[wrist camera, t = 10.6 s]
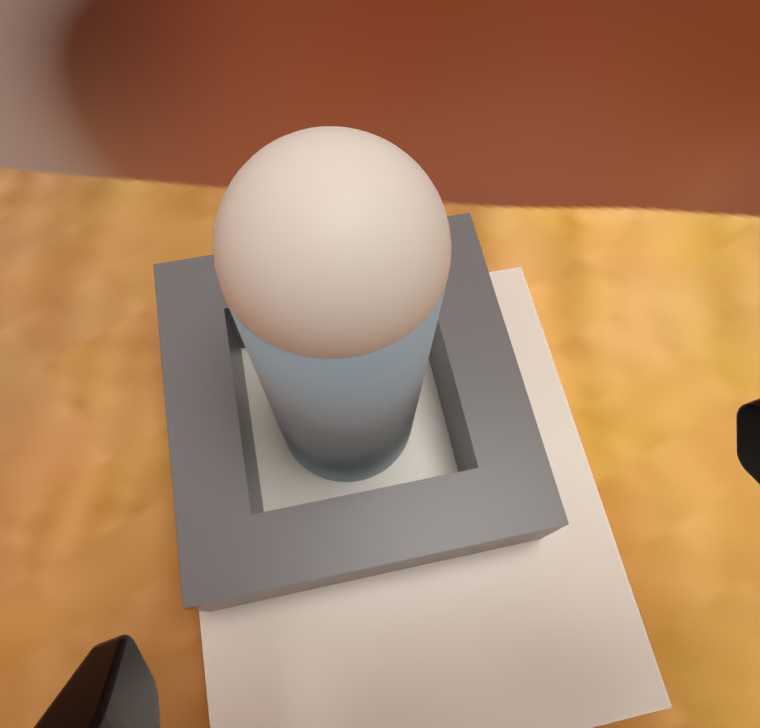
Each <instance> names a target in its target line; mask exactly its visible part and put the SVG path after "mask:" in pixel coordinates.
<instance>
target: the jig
mask: <svg viewBox="0 0 760 728" xmlns="http://www.w3.org/2000/svg"><path fill="white" fill-rule="evenodd" d="M447 218H448V222H449V228H450V236H451V263H450V269H449V275H448V280H447V284H446V288H445V292H444V296H443V301H442V305H441V309H440V313H439V317H438V321H437V326H436V330H435V334H434V338H433V342H432V346H431V350H430V355H429V359H428V363H427V367H426V371H425V375H424V379H423V384H422V388H421V392H420V396H419V400H418V404H417V408H416V413H415V417H414V421H413V425H412V429H411V433H410V437H409V439H408V442H407V444H406V446H405V448H404V450H403V452H402V453H401V455H400V456H399V457H398V458H397V460H396V461H395V462H394V463H393V464H392V465H391V466H389V467H388V468H387V469H386V470H384V471H382V472H381V473H379V474H377V475H375V476H373V477H371V478H368V479H365V480H360V481H355V482H337V481H332V480H327V479H325V478H322V477H319V476H317V475H315V474H313V473H311V472H310V471H309V470H307V469H306V468H304V467H303V466H302V465H301V464H300V463H299V462H298V461H297V460H296V459H295V457H294V456H293V455H292V453H291V452H290V450H289V448H288V446H287V444H286V441H285V439H284V437H283V434H282V432H281V430H280V427H279V425H278V423H277V420H276V418H275V416H274V413H273V411H272V409H271V406H270V404H269V401H268V399H267V397H266V394H265V392H264V390H263V387H262V385H261V383H260V380H259V378H258V376H257V373H256V371H255V368H254V366H253V364H252V361H251V359H250V357H249V354H248V352H247V350H246V347H245V345H244V342H243V340H242V338H241V335H240V333H239V331H238V328H237V326H236V324H235V321H234V319H233V317H232V314H231V312H230V309H229V307H228V305H227V302H226V300H225V298H224V295H223V293H222V291H221V288H220V285H219V281H218V277H217V274H216V270H215V265H214V256H213V255H208V256H202V257H196V258H190V259H184V260H178V261H171V262H165V263H159V264H153V266H154V278H155V289H156V301H157V312H158V324H159V335H160V347H161V358H162V370H163V381H164V393H165V404H166V416H167V427H168V439H169V450H170V462H171V473H172V485H173V496H174V508H175V519H176V531H177V543H178V554H179V566H180V577H181V589H182V600H183V608H184V609H192V610H199V617H200V627H201V638H202V648H203V659H204V669H205V680H206V690H207V701H208V711H209V722H210V728H593V727H597V726H601V725H605V724H609V723H613V722H617V721H621V720H625V719H629V718H633V717H636V716H640V715H644V714H648V713H652V712H656V711H660V710H664V709H668V708H672V706H671V703H670V700H669V697H668V694H667V691H666V688H665V685H664V682H663V679H662V676H661V673H660V671H659V668H658V665H657V662H656V659H655V656H654V653H653V650H652V647H651V644H650V641H649V638H648V636H647V633H646V630H645V627H644V624H643V621H642V618H641V615H640V612H639V609H638V606H637V603H636V600H635V598H634V595H633V592H632V589H631V586H630V583H629V580H628V577H627V574H626V571H625V568H624V565H623V563H622V560H621V557H620V554H619V551H618V548H617V545H616V542H615V539H614V536H613V533H612V530H611V527H610V525H609V522H608V519H607V516H606V513H605V510H604V507H603V504H602V501H601V498H600V495H599V492H598V490H597V487H596V484H595V481H594V478H593V475H592V472H591V469H590V466H589V463H588V460H587V457H586V454H585V452H584V449H583V446H582V443H581V440H580V437H579V434H578V431H577V428H576V425H575V422H574V419H573V417H572V414H571V411H570V408H569V405H568V402H567V399H566V396H565V393H564V390H563V387H562V384H561V381H560V379H559V376H558V373H557V370H556V367H555V364H554V361H553V358H552V355H551V352H550V349H549V346H548V344H547V341H546V338H545V335H544V332H543V329H542V326H541V323H540V320H539V317H538V314H537V311H536V308H535V306H534V303H533V300H532V297H531V294H530V291H529V288H528V285H527V282H526V279H525V276H524V273H523V271H522V268H521V267H517V268H511V269H505V270H500V271H494V272H488V268H487V265H486V262H485V259H484V256H483V253H482V250H481V247H480V243H479V240H478V237H477V234H476V231H475V228H474V225H473V221H472V218H471V215H470V213H466V214H460V215H454V216H447Z"/></svg>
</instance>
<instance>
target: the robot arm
mask: <svg viewBox="0 0 760 728" xmlns="http://www.w3.org/2000/svg"><path fill="white" fill-rule="evenodd" d="M736 418H737V455H738V459H739V461H740V463H741V465H742V466H743V468H744V469H745V470H746V471H747V472H748V473H749V474H750V475H751V476H752V477H753V478H754V479H755V480H756V481H757V482H758V483H759V484H760V399H757V400H754V401H752V402H749V403H746V404H744V405H742V406H741V407H740V408H739V409H738V412H737V417H736ZM34 728H160V714H159V699H158V691H157V687H156V683H155V680H154V678H153V676H152V674H151V672H150V670H149V668H148V666H147V664H146V662H145V660H144V659H143V657H142V655H141V653H140V651H139V649H138V647H137V645H136V643H135V642H134V640H133V639H132V638H131V637H130V636H128V635H121V636H118V637H116V638H113V639H110V640H107V641H105V642H102V643H99V644H97V645H96V646H94V647H93V649H92V650H91V651H90V652H89V654H88V655H87V656H86V658H85V659H84V660H83V662H82V663H81V664H80V666H79V667H78V668H77V670H76V671H75V673H74V674H73V675H72V677H71V678H70V679H69V681H68V682H67V683H66V685H65V686H64V687H63V689H62V690H61V691H60V693H59V694H58V696H57V697H56V698H55V700H54V701H53V702H52V704H51V705H50V706H49V708H48V709H47V710H46V712H45V713H44V715H43V716H42V717H41V719H40V720H39V721H38V723H37V724H36V725H35V727H34Z"/></svg>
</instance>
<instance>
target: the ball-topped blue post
mask: <svg viewBox="0 0 760 728" xmlns="http://www.w3.org/2000/svg"><path fill="white" fill-rule="evenodd" d="M213 256H214V265H215V270H216V274H217V277H218V281H219V285H220V288H221V291H222V293H223V295H224V298H225V300H226V302H227V305H228V307H229V309H230V312H231V314H232V317H233V319H234V321H235V324H236V326H237V328H238V331H239V333H240V335H241V338H242V340H243V342H244V345H245V347H246V350H247V352H248V354H249V357H250V359H251V361H252V364H253V366H254V368H255V371H256V373H257V376H258V378H259V380H260V383H261V385H262V387H263V390H264V392H265V394H266V397H267V399H268V401H269V404H270V406H271V409H272V411H273V413H274V416H275V418H276V420H277V423H278V425H279V427H280V430H281V432H282V434H283V437H284V439H285V441H286V444H287V446H288V448H289V450H290V452H291V453H292V455H293V456H294V457H295V459H296V460H297V461H298V462H299V463H300V464H301V465H302V466H303V467H304V468H306V469H307V470H309V471H310V472H311V473H313V474H315V475H317V476H319V477H322V478H325V479H327V480H332V481H337V482H355V481H360V480H365V479H368V478H371V477H373V476H375V475H377V474H379V473H381V472H382V471H384V470H386V469H387V468H388V467H389V466H391V465H392V464H393V463H394V462H395V461H396V460H397V458H398V457H399V456H400V455H401V453H402V452H403V450H404V448H405V446H406V444H407V442H408V439H409V437H410V433H411V429H412V425H413V421H414V417H415V413H416V408H417V404H418V400H419V396H420V392H421V388H422V384H423V379H424V375H425V371H426V367H427V363H428V359H429V355H430V350H431V346H432V342H433V338H434V334H435V330H436V326H437V321H438V317H439V313H440V309H441V305H442V301H443V296H444V292H445V288H446V284H447V280H448V275H449V269H450V263H451V236H450V228H449V222H448V218H447V215H446V211H445V208H444V206H443V203H442V201H441V199H440V196H439V194H438V192H437V190H436V188H435V187H434V185H433V183H432V182H431V180H430V179H429V177H428V176H427V175H426V173H425V172H424V171H423V170H422V168H421V167H420V166H419V165H418V164H417V163H416V162H415V161H414V160H413V159H412V158H411V157H410V156H409V155H407V154H406V153H405V152H404V151H402V150H401V149H399V148H398V147H397V146H395V145H394V144H392V143H390V142H389V141H387V140H385V139H383V138H381V137H378V136H376V135H374V134H371V133H368V132H364V131H361V130H358V129H353V128H347V127H336V126H323V127H314V128H308V129H304V130H300V131H297V132H294V133H291V134H288V135H286V136H283V137H281V138H279V139H277V140H275V141H273V142H271V143H270V144H268V145H266V146H265V147H263V148H262V149H261V150H259V151H258V152H257V153H256V154H254V155H253V156H252V157H251V158H250V159H249V160H248V161H247V162H246V163H245V165H244V166H243V167H242V168H241V169H240V170H239V171H238V173H237V174H236V175H235V177H234V178H233V179H232V181H231V183H230V185H229V187H228V188H227V190H226V192H225V194H224V196H223V198H222V201H221V204H220V206H219V209H218V213H217V217H216V222H215V227H214V234H213Z"/></svg>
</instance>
